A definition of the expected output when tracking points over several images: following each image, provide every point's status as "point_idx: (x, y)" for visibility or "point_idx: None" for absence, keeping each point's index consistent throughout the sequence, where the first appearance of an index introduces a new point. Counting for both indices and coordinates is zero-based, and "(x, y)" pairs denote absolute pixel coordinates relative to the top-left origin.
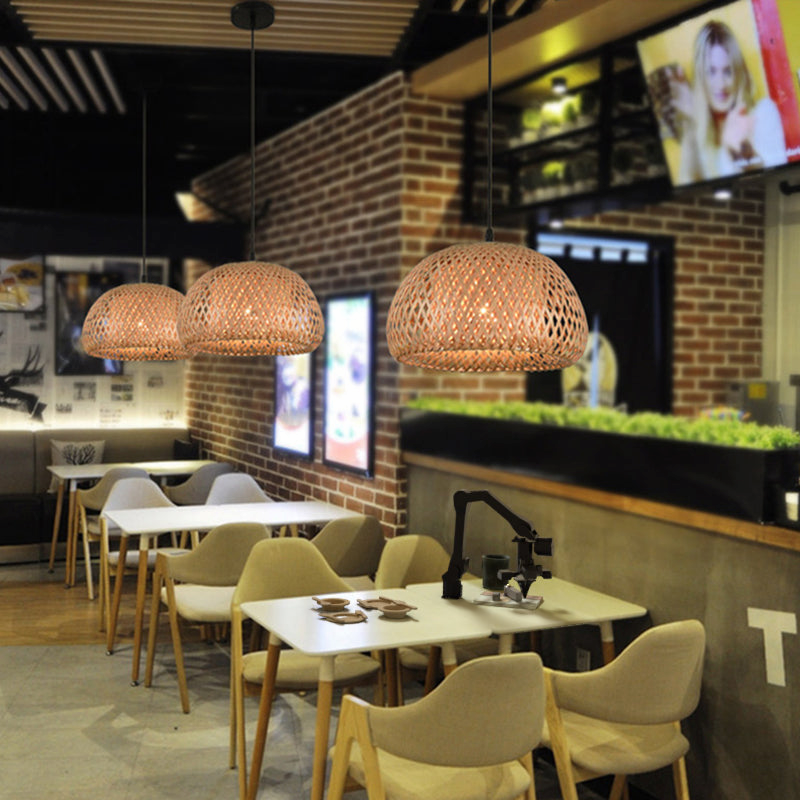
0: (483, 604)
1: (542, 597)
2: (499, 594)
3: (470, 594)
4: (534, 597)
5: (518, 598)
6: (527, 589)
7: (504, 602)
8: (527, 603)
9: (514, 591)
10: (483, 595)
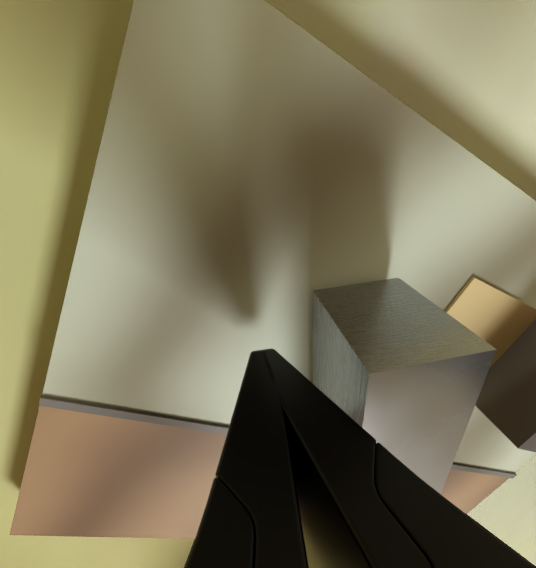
0: None
1: (16, 511)
2: (531, 409)
3: (485, 506)
4: (108, 486)
5: (379, 298)
6: (253, 477)
7: (522, 247)
8: (258, 189)
9: (460, 424)
10: (506, 463)
